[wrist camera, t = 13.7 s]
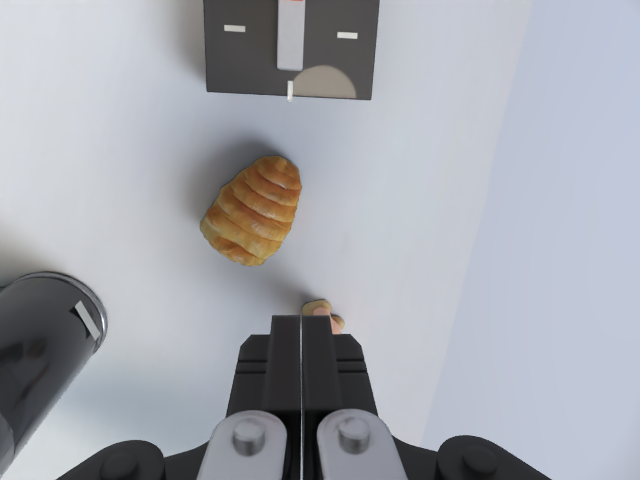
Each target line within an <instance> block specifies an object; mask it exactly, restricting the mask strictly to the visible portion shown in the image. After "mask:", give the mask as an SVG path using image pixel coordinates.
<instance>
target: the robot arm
mask: <svg viewBox="0 0 640 480" xmlns="http://www.w3.org/2000/svg"><path fill="white" fill-rule="evenodd" d="M106 332H107V318H106V314H105V311H104V308H103V306H102V304H101V303H100V301H99V300H98V298H97V297H96V296H95V295H94V294H93V293H92V291H90V290H89V289H88V288H87V287H86V286H84V285H83V284H81V283H80V282H78V281H76V280H74V279H72V278H70V277H67V276H64V275H61V274H57V273H49V272H39V273H32V274H28V275H25V276H23V277H20V278H19V279H17V280H15V281H14V282H12V283H11V284H10V285H8V286H7V287H5V288H0V478H1V477H2V476H3V474H4V473H5V472H6V470H7V469H8V468H9V466H10V465H11V463H12V462H13V461H14V459H15V458H16V457H17V455H18V454H19V453H20V451H21V450H22V449H23V447H24V446H25V445H26V443H27V442H28V441H29V439H30V438H31V437H32V435H33V434H34V433H35V431H36V430H37V428H38V427H39V426H40V424H41V423H42V422H43V420H44V419H45V418H46V416H47V415H48V414H49V412H50V411H51V410H52V408H53V407H54V406H55V404H56V403H57V402H58V400H59V399H60V398H61V396H62V395H63V394H64V392H65V391H66V390H67V388H68V387H69V386H70V384H71V383H72V382H73V380H74V379H75V378H76V376H77V375H78V374H79V372H80V371H81V370H82V368H83V367H84V366H85V364H86V363H87V361H88V360H89V359H90V357H91V356H92V355H93V354H94V353H95V352H96V351H97V350H98V348H99V347H100V346H101V344H102V343H103V341H104V339H105V336H106ZM301 396H302V456H303V480H551V479H550V478H548V477H547V476H545V475H544V474H542V473H540V472H539V471H537V470H536V469H534V468H533V467H531V466H529V465H528V464H526V463H525V462H523V461H522V460H520V459H519V458H517V457H515V456H514V455H512V454H511V453H509V452H508V451H506V450H504V449H503V448H501V447H500V446H498V445H496V444H495V443H493V442H491V441H489V440H486V439H483V438H480V437H476V436H469V435H463V436H455V437H452V438H450V439H448V440H446V441H445V442H444V443H443V444H442V445H441V446H440V448H439V450H438V452H436V451H432V450H428V449H424V448H420V447H416V446H413V445H409V444H407V443H405V442H402V441H401V440H399V439H397V438H395V437H394V436H393V435H391V433H390V430H389V428H388V427H387V425H386V424H385V423H384V422H383V421H382V420H381V419H380V418H379V417H378V413H377V409H376V405H375V401H374V397H373V392H372V388H371V384H370V380H369V376H368V373H367V368H366V364H365V362H364V356H363V352H362V348H361V345H360V344H359V343H358V342H357V341H356V340H355V339H354V338H353V337H352V336H351V334H332V327H331V320H330V315H302V361H301V358H300V315H272V322H271V332H270V335H251V336H250V337H249V338H248V339H247V340H246V341H245V342H244V343H243V344H242V345H241V347H240V351H239V356H238V363H237V366H236V370H235V375H234V380H233V385H232V389H231V394H230V399H229V404H228V408H227V413H226V418H225V419H224V420H223V421H221V422H220V423H219V424H218V425H217V426H216V428H215V429H214V431H213V433H212V435H211V438H210V440H209V441H208V442H206V443H205V444H203V445H201V446H199V447H197V448H195V449H192V450H189V451H186V452H183V453H179V454H175V455H172V456H168V457H165V458H164V457H163V454H162V452H161V450H160V449H159V448H158V447H157V446H156V445H154V444H152V443H150V442H147V441H142V440H129V441H123V442H119V443H116V444H113V445H110V446H108V447H106V448H104V449H102V450H100V451H99V452H97V453H96V454H94V455H92V456H91V457H89V458H88V459H86V460H85V461H83V462H82V463H80V464H79V465H77V466H76V467H74V468H73V469H71V470H70V471H68V472H67V473H65V474H64V475H62V476H61V477H59V478H58V479H56V480H300V465H301Z"/></svg>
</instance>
